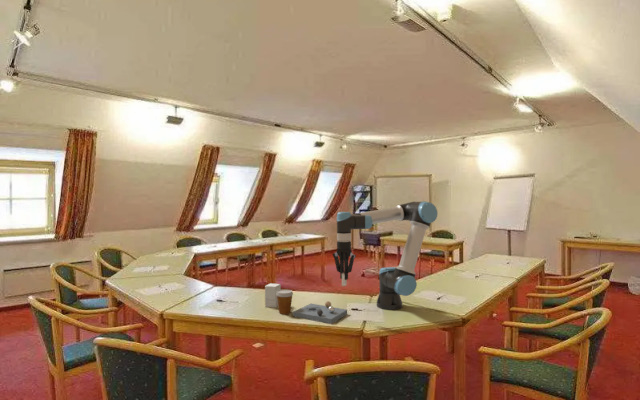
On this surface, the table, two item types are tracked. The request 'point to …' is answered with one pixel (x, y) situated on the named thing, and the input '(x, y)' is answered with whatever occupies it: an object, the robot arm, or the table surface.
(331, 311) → the steel ball
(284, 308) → the disposable coffee cup
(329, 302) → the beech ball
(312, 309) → the board
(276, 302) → the supplement box
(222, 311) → the table surface
